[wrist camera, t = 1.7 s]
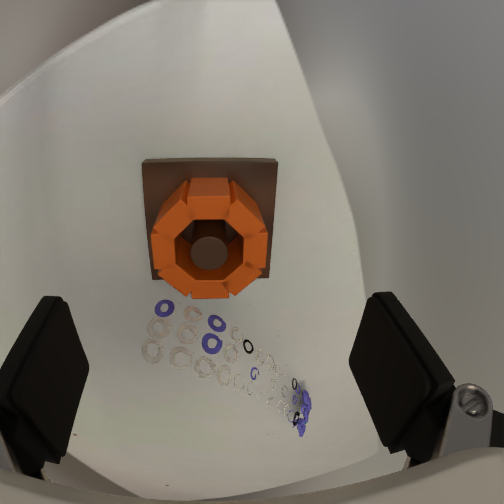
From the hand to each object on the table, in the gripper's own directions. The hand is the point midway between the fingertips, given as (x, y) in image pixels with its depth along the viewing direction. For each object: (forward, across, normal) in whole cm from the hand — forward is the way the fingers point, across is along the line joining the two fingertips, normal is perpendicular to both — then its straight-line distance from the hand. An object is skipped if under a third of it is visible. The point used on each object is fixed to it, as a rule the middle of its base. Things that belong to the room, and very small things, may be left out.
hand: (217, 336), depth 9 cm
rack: (+15, 0, +2) cm, 15 cm away
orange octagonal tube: (+14, 0, +2) cm, 14 cm away
